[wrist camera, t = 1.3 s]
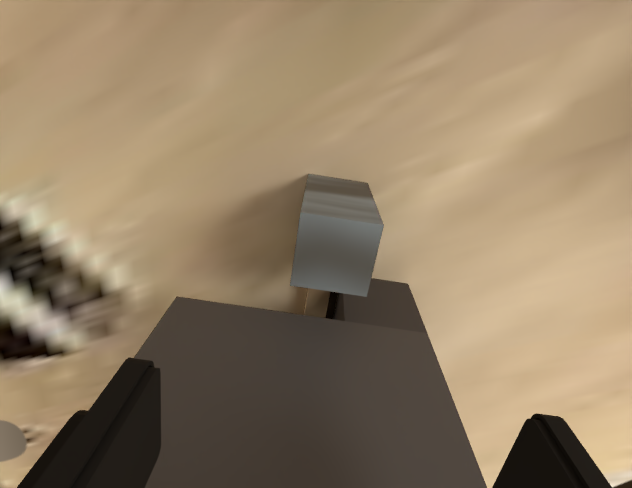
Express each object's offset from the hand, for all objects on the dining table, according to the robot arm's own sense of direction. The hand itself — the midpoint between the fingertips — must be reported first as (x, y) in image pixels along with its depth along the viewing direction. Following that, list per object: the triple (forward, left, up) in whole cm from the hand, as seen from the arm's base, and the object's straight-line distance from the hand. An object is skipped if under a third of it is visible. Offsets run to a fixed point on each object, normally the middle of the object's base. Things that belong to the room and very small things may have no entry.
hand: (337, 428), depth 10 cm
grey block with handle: (+9, 0, -18) cm, 20 cm away
